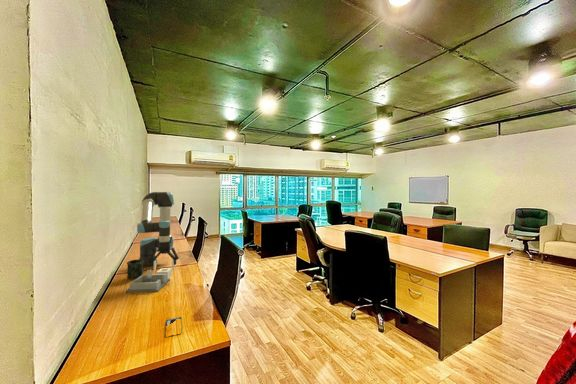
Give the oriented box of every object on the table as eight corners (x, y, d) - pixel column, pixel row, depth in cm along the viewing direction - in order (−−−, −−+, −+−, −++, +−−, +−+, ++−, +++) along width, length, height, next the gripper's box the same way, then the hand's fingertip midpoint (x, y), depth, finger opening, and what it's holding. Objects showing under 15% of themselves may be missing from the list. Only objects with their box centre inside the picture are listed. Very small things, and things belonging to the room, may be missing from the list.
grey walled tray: (141, 281, 173) (141, 273, 173) (170, 280, 175) (170, 273, 175) (125, 292, 153) (125, 284, 153) (158, 291, 156) (158, 283, 156)
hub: (167, 279, 176) (167, 271, 176) (156, 280, 175) (156, 271, 175) (174, 273, 189) (174, 266, 189) (163, 273, 188) (163, 266, 188)
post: (148, 283, 166) (148, 269, 166) (152, 283, 166) (152, 269, 166) (146, 285, 163) (146, 270, 163) (150, 285, 163) (150, 270, 163)
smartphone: (164, 337, 107) (165, 320, 121) (164, 339, 107) (165, 321, 121) (182, 333, 110) (181, 316, 124) (182, 335, 110) (181, 318, 124)
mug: (144, 273, 188) (144, 258, 188) (141, 280, 175) (141, 263, 175) (128, 275, 184) (128, 260, 184) (124, 282, 171) (124, 265, 170)
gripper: (144, 242, 175) (144, 271, 174) (179, 241, 177) (179, 270, 177) (149, 240, 182) (149, 268, 182) (183, 239, 185) (183, 267, 184)
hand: (164, 269), depth 179 cm, fingers open, 13 cm apart
